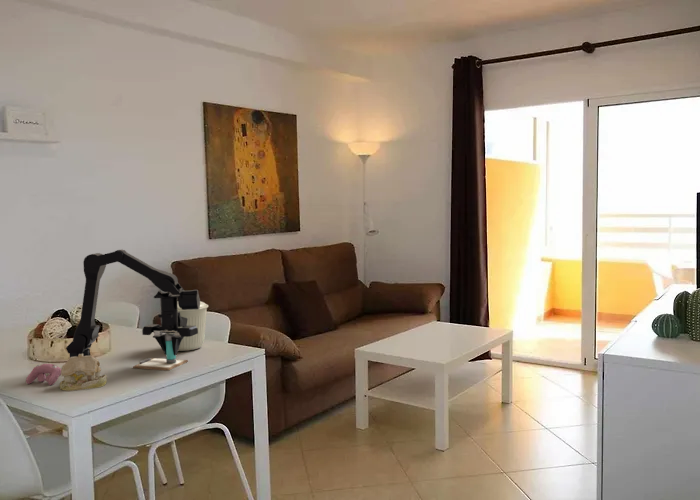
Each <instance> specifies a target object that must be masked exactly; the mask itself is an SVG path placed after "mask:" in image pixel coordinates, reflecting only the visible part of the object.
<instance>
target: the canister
mask: <svg viewBox="0 0 700 500" xmlns="http://www.w3.org/2000/svg"><path fill="white" fill-rule="evenodd" d="M177 304H178V300H177ZM208 308H209V304H207V303H205V302H204V301H201V300H200V308H199V309H197V310H182V308H180V307H179V305H178V312H180V316H181V317H185V318H187V319H188V320H187V326H196V327H197V329H198V334H195V335H193V336H190V337H184V338H183V339H182V341H181V343H180V346H179V349H178V352H187V351H193V350H194V351H195V350H197V349H200V348H202V346H203V345H204V342H205V335H206V325H207V324H206V323H207V311H208ZM178 328H182V327H178ZM172 331H175V330H172ZM169 334H175V333H169Z"/></svg>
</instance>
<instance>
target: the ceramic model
mask: <svg viewBox="0 0 700 500" xmlns="http://www.w3.org/2000/svg"><path fill="white" fill-rule="evenodd" d="M100 366H101V365H100V362H99V360H98V359H97V358H95V357H94V356H92V355H91V354H90V355H89V356H83V353H82V354H79V355H78V357H76V356H75V357H70V356H69V358H68V359H67V361H66V362H65V363H64V364H63V365H62V366H61V375H60V376H61V377H63V380H62V381H60V383H59V389H60V390H61V391H80V390H88V389H97V388H101V387H104V386H105V385H106V384H107V379H108V377H107V374H103V375H101V371H102V369H101V367H100Z"/></svg>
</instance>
